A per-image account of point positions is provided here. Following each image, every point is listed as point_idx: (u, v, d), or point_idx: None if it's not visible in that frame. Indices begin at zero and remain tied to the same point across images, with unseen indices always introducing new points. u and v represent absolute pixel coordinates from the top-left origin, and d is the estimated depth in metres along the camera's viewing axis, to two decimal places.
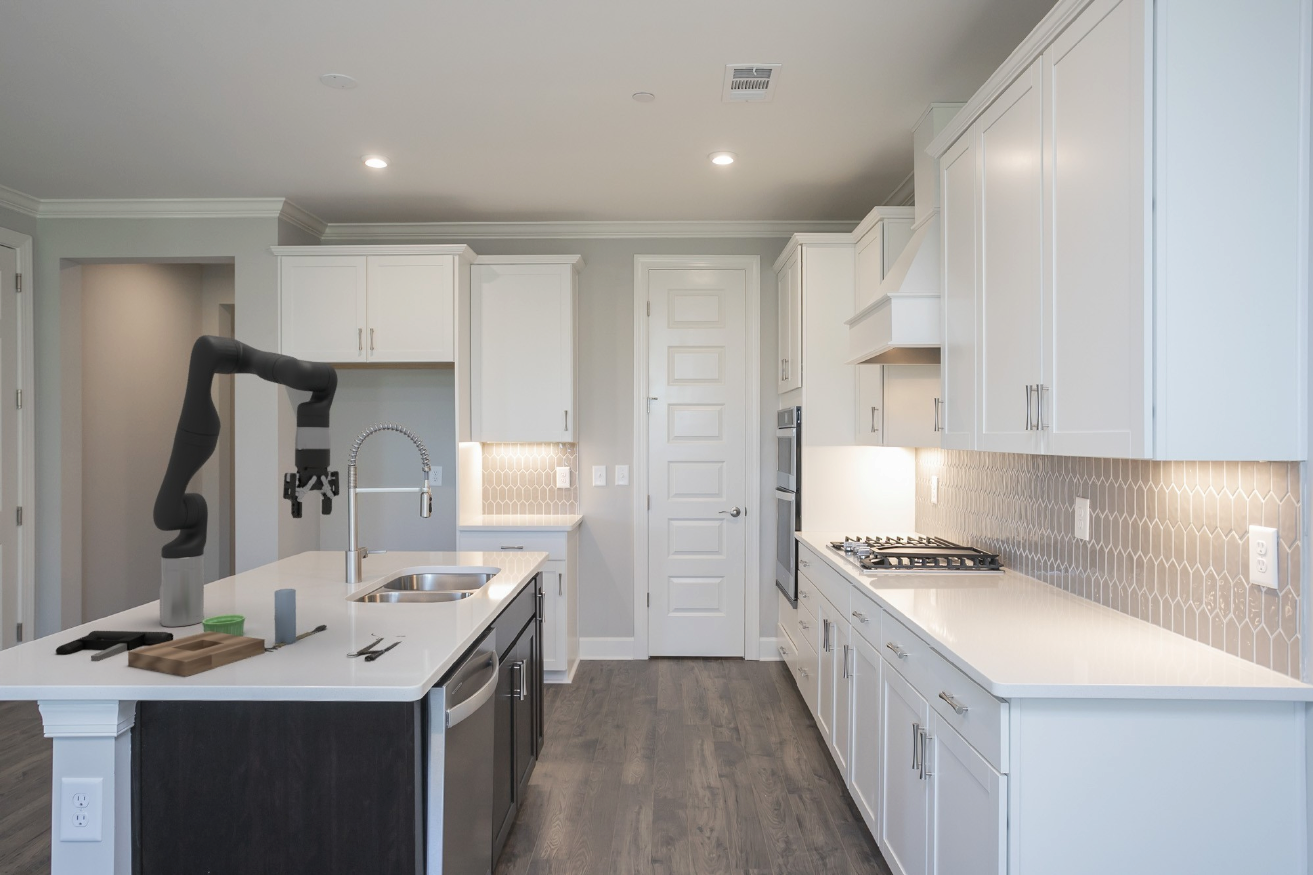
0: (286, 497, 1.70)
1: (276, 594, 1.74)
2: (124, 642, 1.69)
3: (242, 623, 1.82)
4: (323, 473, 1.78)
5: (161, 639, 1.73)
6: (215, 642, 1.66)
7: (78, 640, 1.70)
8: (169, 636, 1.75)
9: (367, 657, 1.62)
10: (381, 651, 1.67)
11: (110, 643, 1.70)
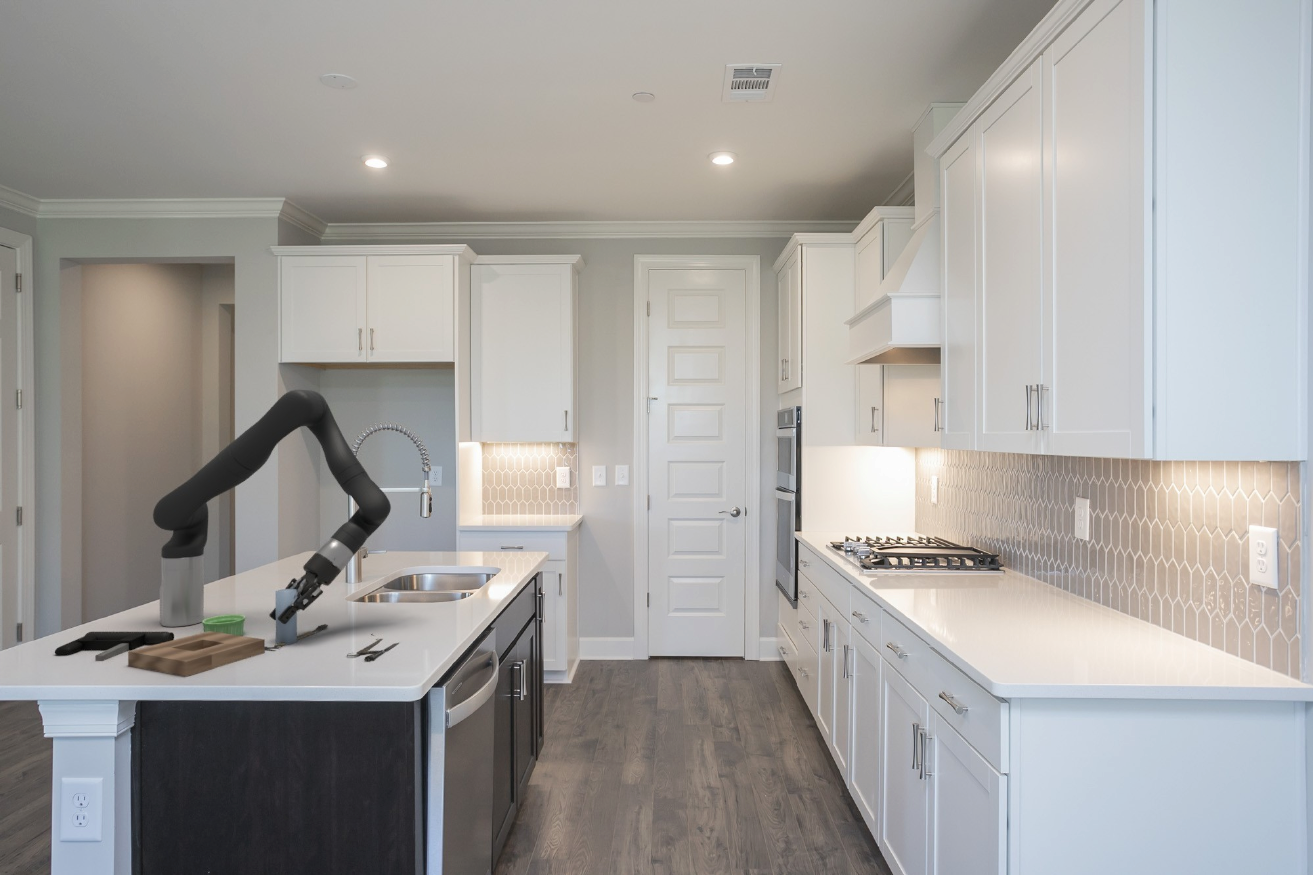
0: (299, 606, 1.73)
1: (277, 593, 1.74)
2: (126, 642, 1.70)
3: (242, 623, 1.82)
4: None
5: (162, 639, 1.74)
6: (215, 642, 1.66)
7: (77, 641, 1.70)
8: (170, 635, 1.75)
9: (367, 657, 1.61)
10: (381, 651, 1.67)
11: (111, 643, 1.70)
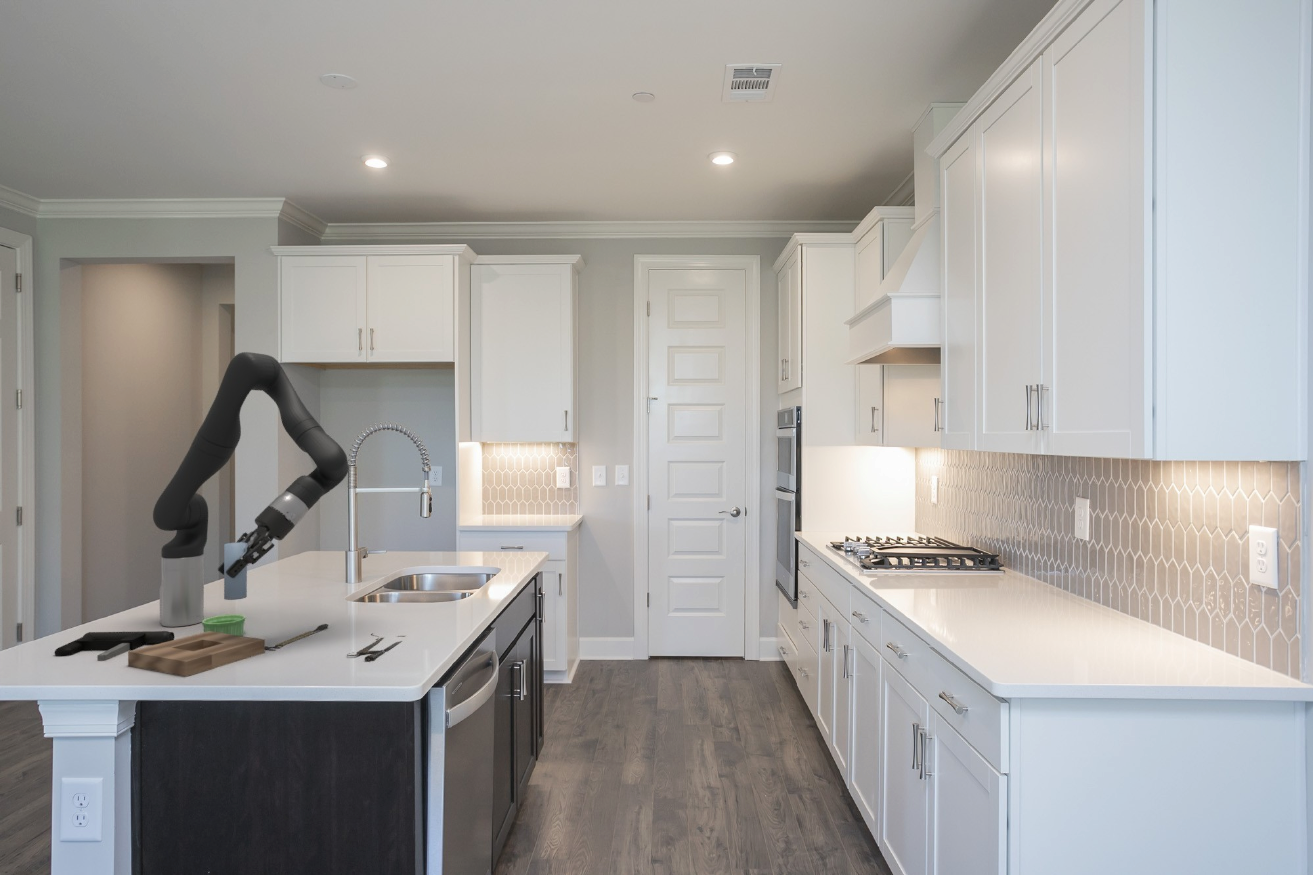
0: (248, 559, 1.66)
1: (226, 546, 1.66)
2: (126, 642, 1.70)
3: (242, 623, 1.82)
4: None
5: (163, 638, 1.74)
6: (215, 642, 1.66)
7: (76, 641, 1.69)
8: (171, 635, 1.76)
9: (367, 657, 1.61)
10: (381, 651, 1.66)
11: (111, 643, 1.70)
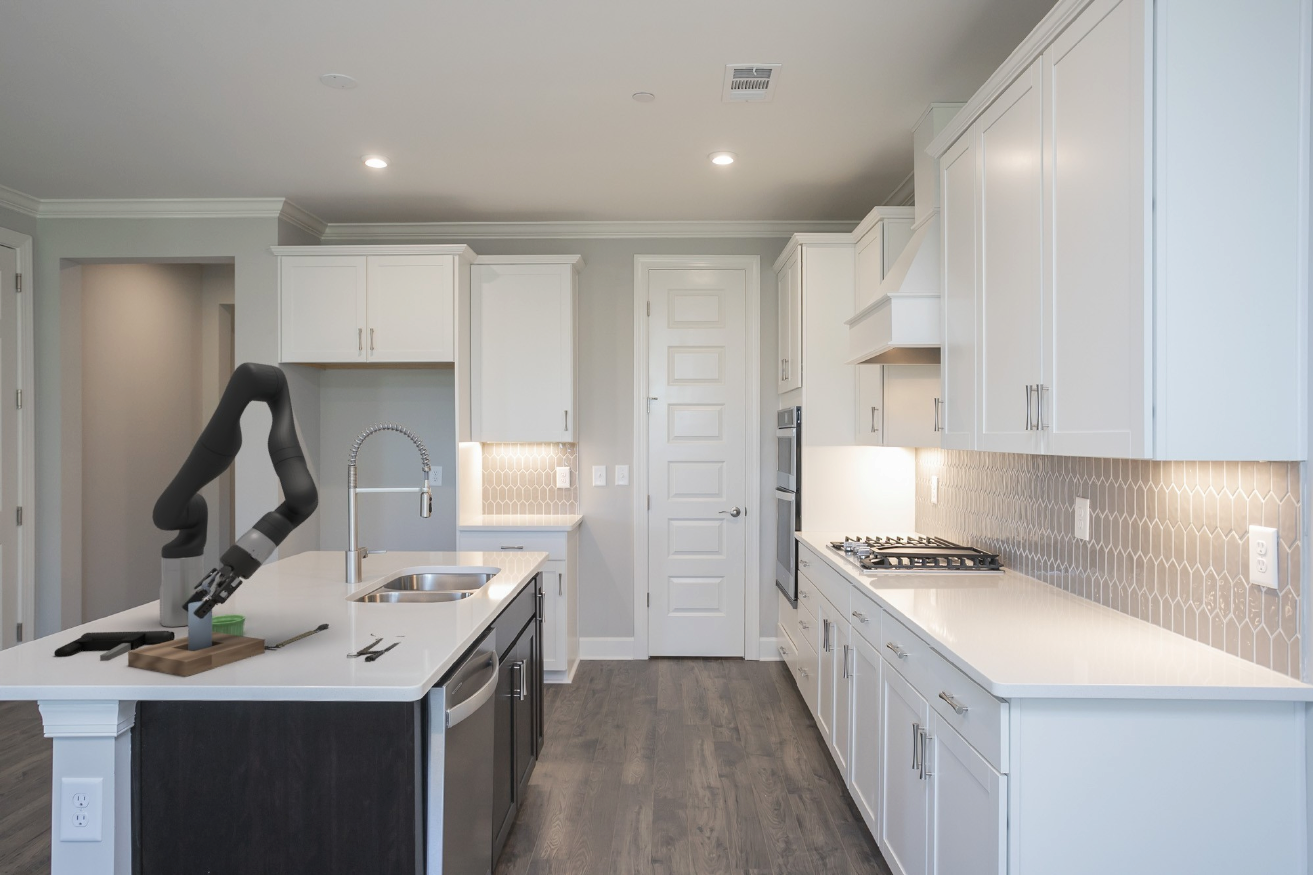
0: (218, 598, 1.59)
1: (189, 606, 1.61)
2: (128, 642, 1.70)
3: (242, 623, 1.82)
4: None
5: (164, 638, 1.74)
6: (215, 642, 1.66)
7: (76, 642, 1.69)
8: (171, 635, 1.76)
9: (367, 657, 1.61)
10: (381, 651, 1.66)
11: (112, 643, 1.69)
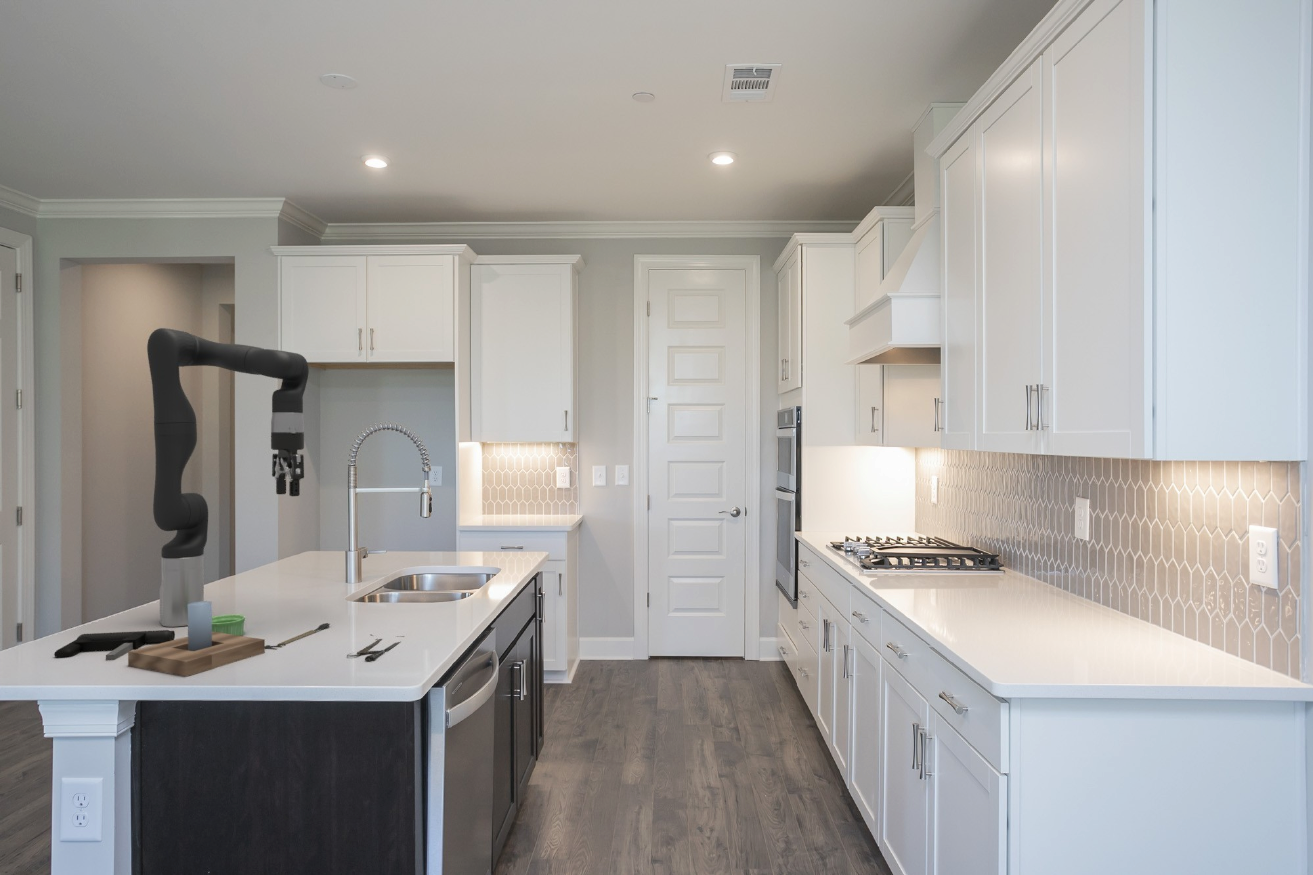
0: (297, 477, 1.86)
1: (189, 607, 1.61)
2: (130, 641, 1.70)
3: (242, 623, 1.82)
4: None
5: (165, 637, 1.75)
6: (215, 642, 1.66)
7: (75, 643, 1.68)
8: (172, 634, 1.77)
9: (367, 657, 1.61)
10: (381, 651, 1.66)
11: (113, 643, 1.69)
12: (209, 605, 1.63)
